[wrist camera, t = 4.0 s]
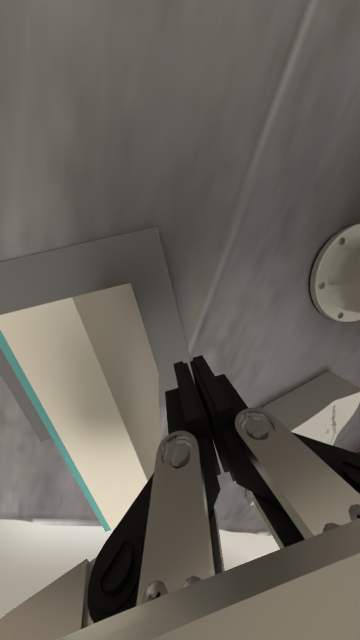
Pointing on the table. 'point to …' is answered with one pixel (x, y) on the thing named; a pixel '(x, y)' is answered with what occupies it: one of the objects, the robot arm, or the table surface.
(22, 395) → the mat
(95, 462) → the tile
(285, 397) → the ramp
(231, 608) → the robot arm
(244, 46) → the table surface
